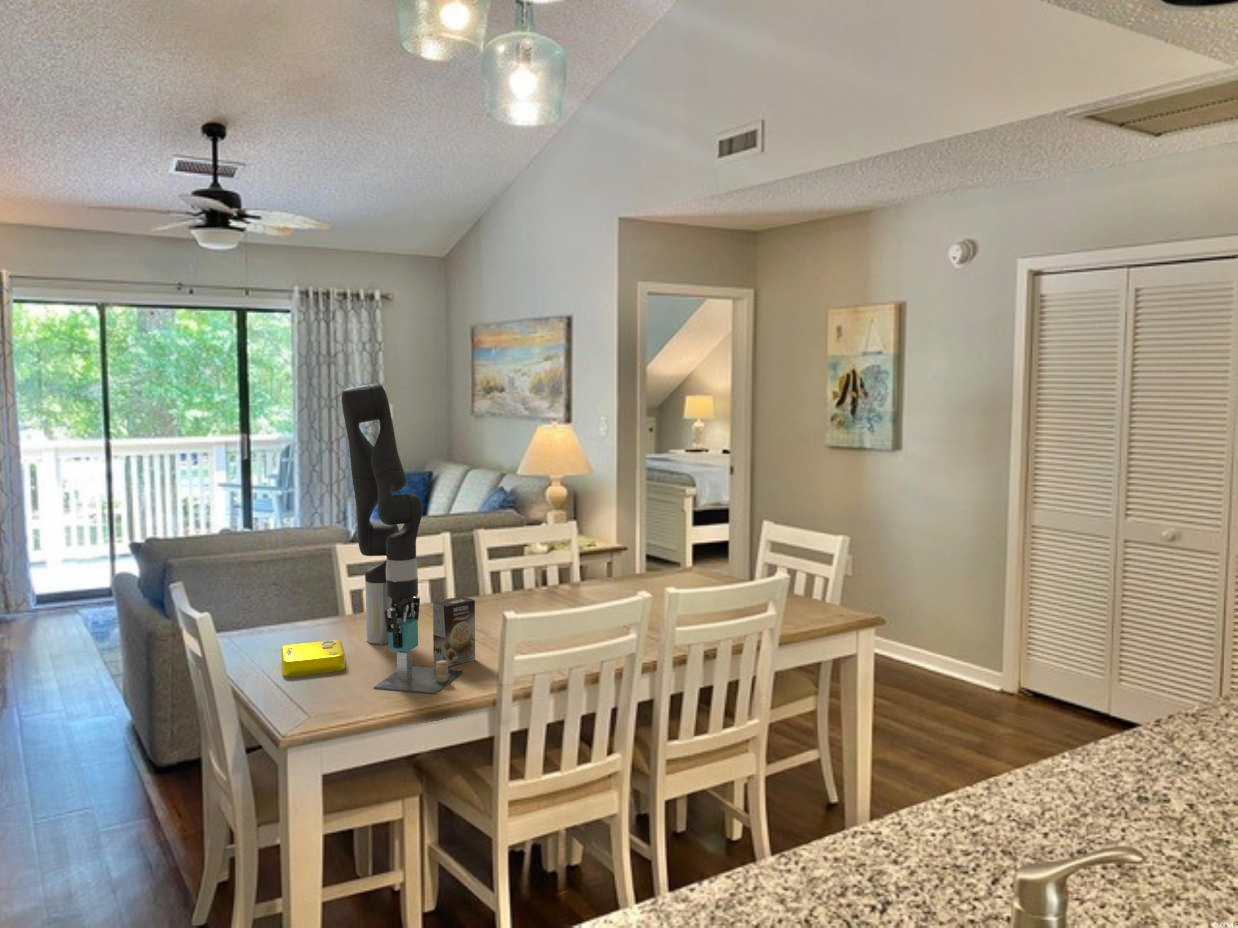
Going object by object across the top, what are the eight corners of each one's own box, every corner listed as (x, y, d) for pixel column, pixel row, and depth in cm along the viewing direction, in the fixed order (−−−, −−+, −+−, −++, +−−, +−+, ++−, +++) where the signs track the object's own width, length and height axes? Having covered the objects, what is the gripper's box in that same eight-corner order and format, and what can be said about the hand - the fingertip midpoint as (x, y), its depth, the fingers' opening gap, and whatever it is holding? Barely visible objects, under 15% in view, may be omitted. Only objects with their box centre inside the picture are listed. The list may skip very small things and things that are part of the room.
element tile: (281, 660, 239) (280, 643, 239) (341, 654, 245) (340, 637, 244) (282, 679, 225) (282, 660, 225) (345, 671, 231) (345, 653, 230)
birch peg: (439, 679, 223) (439, 659, 223) (449, 680, 223) (449, 660, 222) (434, 683, 221) (433, 663, 220) (445, 684, 220) (444, 664, 220)
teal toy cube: (399, 643, 227) (398, 617, 226) (418, 645, 225) (417, 619, 225) (388, 649, 222) (388, 623, 221) (408, 651, 220) (407, 624, 220)
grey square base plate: (405, 667, 233) (404, 640, 232) (463, 672, 229) (462, 645, 228) (373, 688, 218) (372, 659, 217) (435, 694, 214) (434, 665, 213)
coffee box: (446, 667, 233) (445, 606, 231) (432, 661, 237) (431, 601, 236) (476, 659, 239) (475, 599, 237) (462, 654, 244) (461, 595, 242)
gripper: (402, 569, 229) (403, 634, 231) (372, 581, 216) (374, 651, 217) (429, 570, 228) (430, 637, 229) (401, 583, 214) (403, 654, 215)
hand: (403, 643), depth 223 cm, fingers closed on teal toy cube, 5 cm apart
